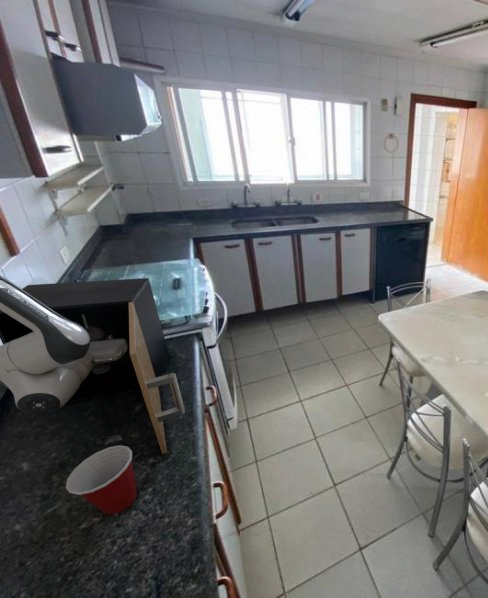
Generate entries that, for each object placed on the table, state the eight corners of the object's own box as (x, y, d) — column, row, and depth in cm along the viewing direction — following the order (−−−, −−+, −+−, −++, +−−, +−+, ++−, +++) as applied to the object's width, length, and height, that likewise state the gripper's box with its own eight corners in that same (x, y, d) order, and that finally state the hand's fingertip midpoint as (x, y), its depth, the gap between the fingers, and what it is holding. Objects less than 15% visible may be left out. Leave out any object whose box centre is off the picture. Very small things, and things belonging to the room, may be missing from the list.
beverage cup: (111, 359, 108) (91, 305, 99) (121, 367, 105) (102, 312, 96) (82, 371, 102) (59, 314, 94) (93, 379, 99) (69, 321, 90)
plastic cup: (97, 489, 75) (76, 454, 70) (154, 473, 79) (137, 438, 74) (79, 537, 66) (53, 501, 61) (143, 516, 70) (124, 480, 65)
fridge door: (180, 383, 109) (158, 297, 96) (193, 444, 88) (167, 345, 75) (155, 390, 105) (128, 302, 92) (163, 456, 84) (129, 354, 71)
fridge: (157, 388, 106) (131, 300, 93) (35, 408, 95) (-14, 311, 82) (169, 357, 121) (148, 277, 108) (65, 371, 110) (27, 284, 97)
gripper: (115, 349, 90) (131, 325, 102) (15, 361, 83) (44, 334, 95) (122, 368, 93) (136, 343, 105) (25, 381, 86) (52, 352, 97)
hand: (92, 338), depth 100 cm, fingers closed on beverage cup, 7 cm apart
